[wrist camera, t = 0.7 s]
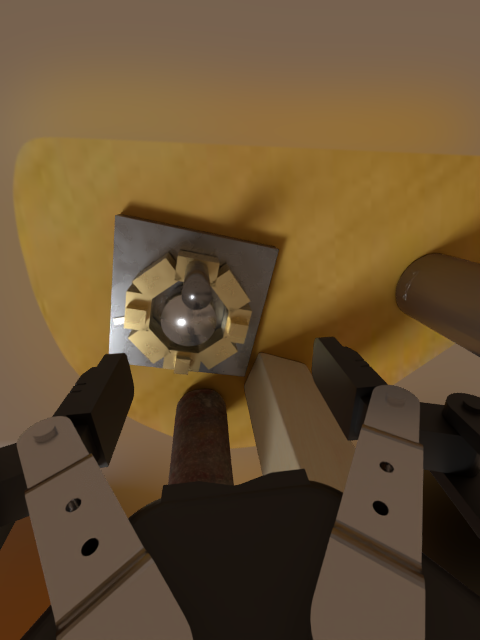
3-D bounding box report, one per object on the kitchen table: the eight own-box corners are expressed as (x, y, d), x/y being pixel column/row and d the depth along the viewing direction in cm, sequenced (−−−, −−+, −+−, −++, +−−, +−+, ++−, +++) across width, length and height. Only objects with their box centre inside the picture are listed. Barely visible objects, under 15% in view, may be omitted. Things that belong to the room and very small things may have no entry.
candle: (168, 391, 41) (145, 546, 23) (215, 376, 41) (229, 519, 23) (187, 427, 45) (180, 587, 27) (231, 413, 45) (253, 563, 27)
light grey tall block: (240, 390, 43) (272, 547, 24) (257, 351, 41) (310, 490, 22) (285, 400, 45) (349, 551, 26) (305, 363, 43) (391, 501, 24)
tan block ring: (256, 264, 33) (280, 294, 23) (232, 362, 38) (244, 419, 29) (135, 241, 30) (106, 264, 21) (127, 350, 35) (101, 409, 26)
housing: (274, 246, 35) (288, 256, 29) (242, 368, 41) (249, 394, 36) (120, 213, 31) (103, 218, 25) (112, 353, 38) (98, 381, 32)
